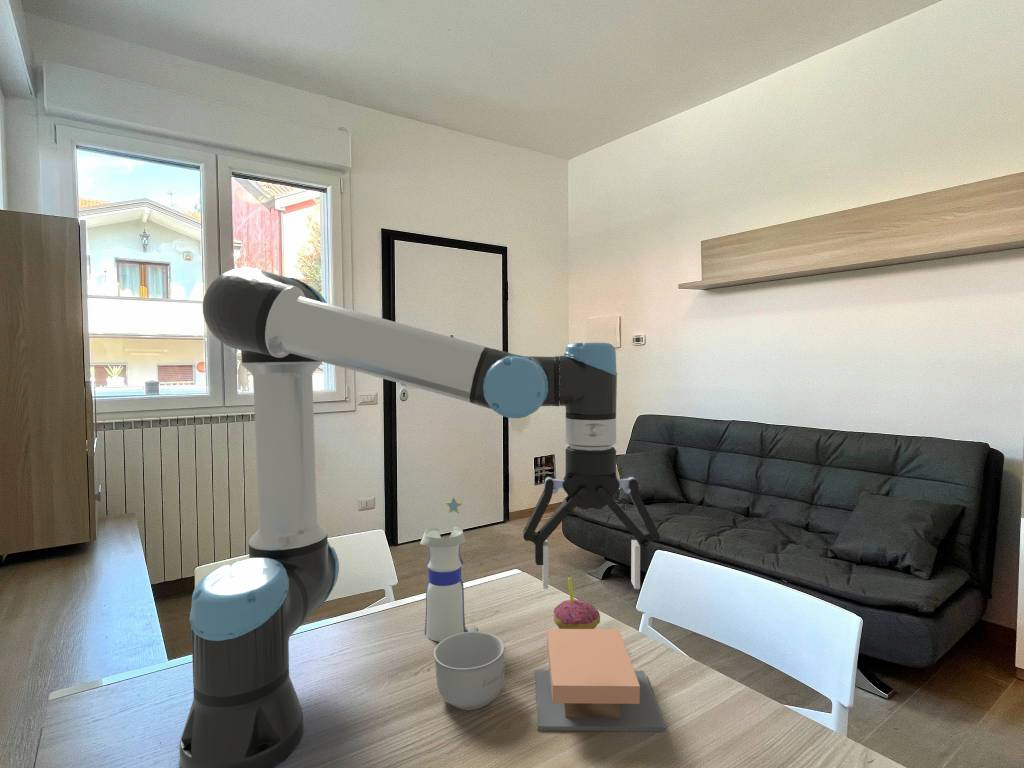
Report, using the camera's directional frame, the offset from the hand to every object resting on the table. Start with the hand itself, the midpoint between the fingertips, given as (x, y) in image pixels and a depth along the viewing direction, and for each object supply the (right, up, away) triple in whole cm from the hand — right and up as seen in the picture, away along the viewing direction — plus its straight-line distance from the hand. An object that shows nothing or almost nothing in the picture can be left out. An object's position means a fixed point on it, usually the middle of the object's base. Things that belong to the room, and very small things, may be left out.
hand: (590, 585), depth 84 cm
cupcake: (0, -17, +19) cm, 26 cm away
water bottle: (-25, -17, +22) cm, 37 cm away
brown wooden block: (0, -18, +1) cm, 18 cm away
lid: (0, -13, +1) cm, 13 cm away
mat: (+1, -18, +1) cm, 18 cm away
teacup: (-18, -18, +3) cm, 26 cm away
